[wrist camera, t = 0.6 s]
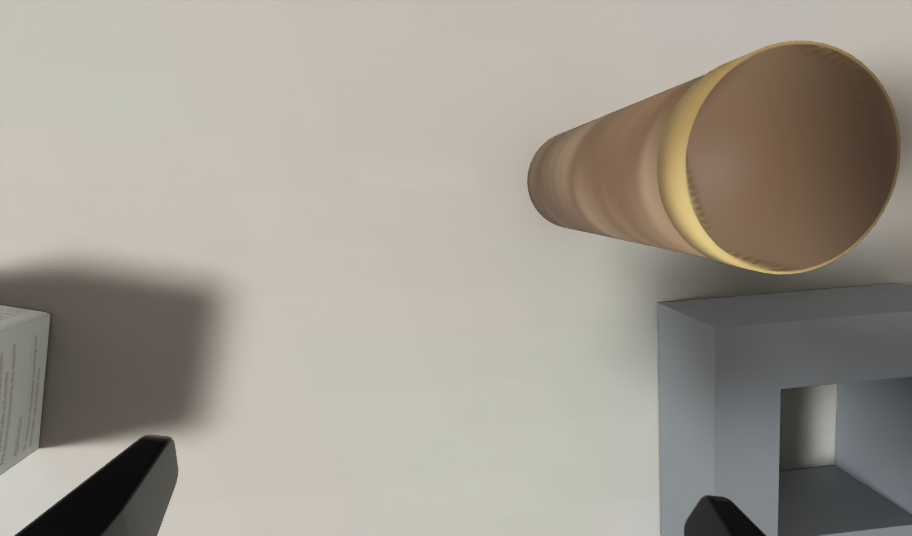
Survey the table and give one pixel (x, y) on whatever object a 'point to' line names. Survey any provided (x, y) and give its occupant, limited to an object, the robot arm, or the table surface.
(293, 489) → the table surface
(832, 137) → the peg
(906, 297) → the socket block
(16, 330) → the product box
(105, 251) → the table surface
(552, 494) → the table surface
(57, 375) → the table surface
